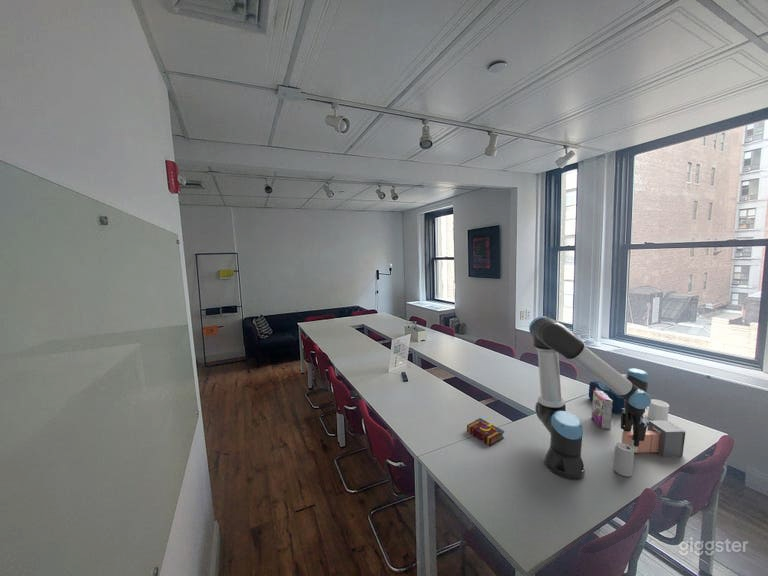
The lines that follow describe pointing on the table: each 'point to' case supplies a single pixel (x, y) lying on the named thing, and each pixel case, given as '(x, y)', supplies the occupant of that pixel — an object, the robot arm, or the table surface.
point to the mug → (658, 410)
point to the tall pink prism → (648, 444)
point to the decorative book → (485, 431)
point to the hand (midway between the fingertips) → (630, 448)
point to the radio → (617, 400)
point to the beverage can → (623, 459)
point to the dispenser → (668, 438)
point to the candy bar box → (602, 409)
